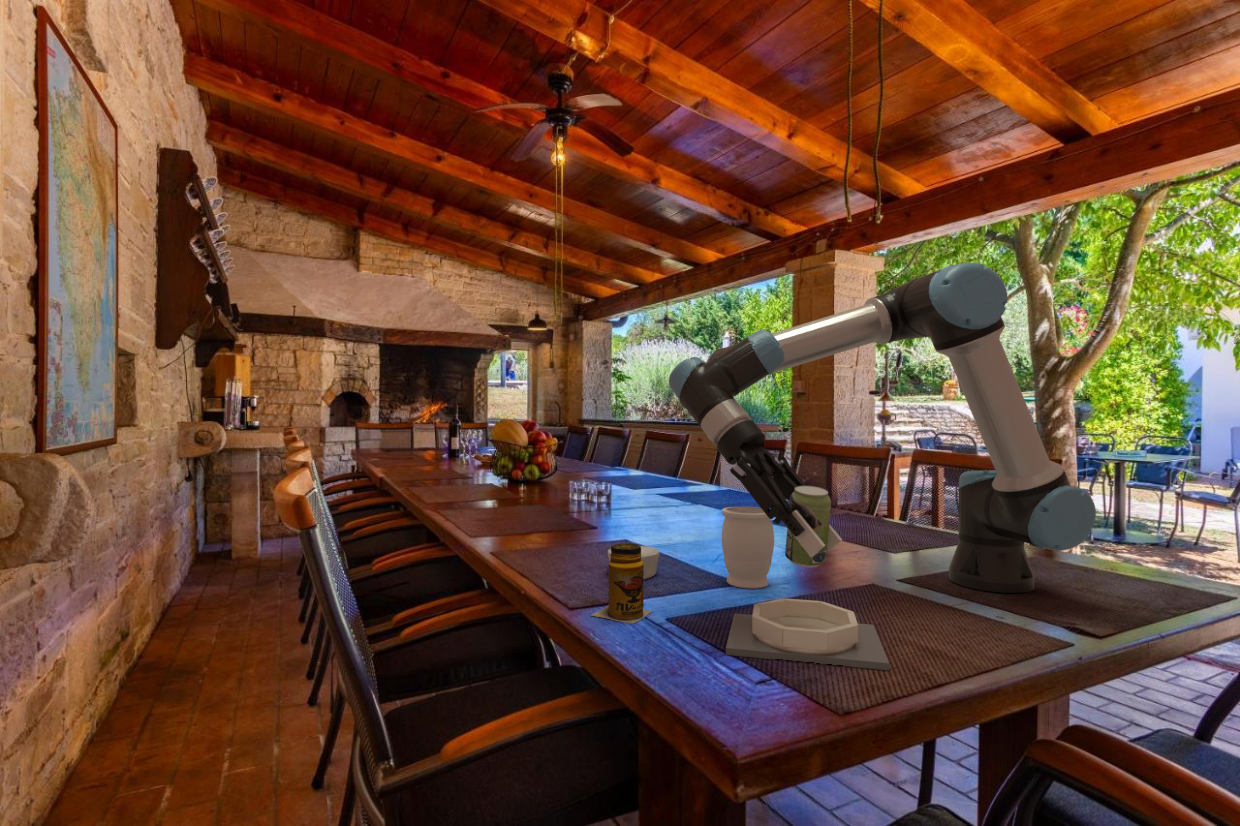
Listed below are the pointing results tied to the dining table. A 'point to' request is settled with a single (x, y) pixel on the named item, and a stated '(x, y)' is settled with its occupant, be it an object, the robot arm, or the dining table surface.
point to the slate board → (860, 656)
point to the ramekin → (646, 560)
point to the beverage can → (817, 514)
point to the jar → (747, 546)
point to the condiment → (625, 585)
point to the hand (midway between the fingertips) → (826, 548)
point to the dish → (805, 626)
